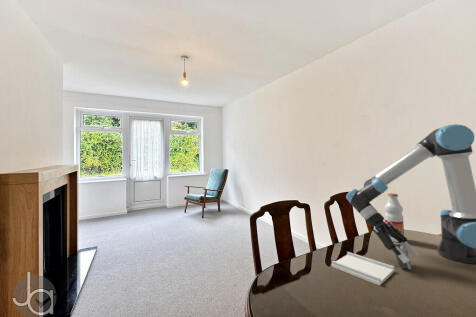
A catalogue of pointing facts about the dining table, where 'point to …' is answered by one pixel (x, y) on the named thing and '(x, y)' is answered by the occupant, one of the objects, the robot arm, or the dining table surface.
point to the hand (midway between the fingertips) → (411, 258)
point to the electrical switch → (403, 249)
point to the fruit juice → (394, 214)
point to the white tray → (364, 268)
